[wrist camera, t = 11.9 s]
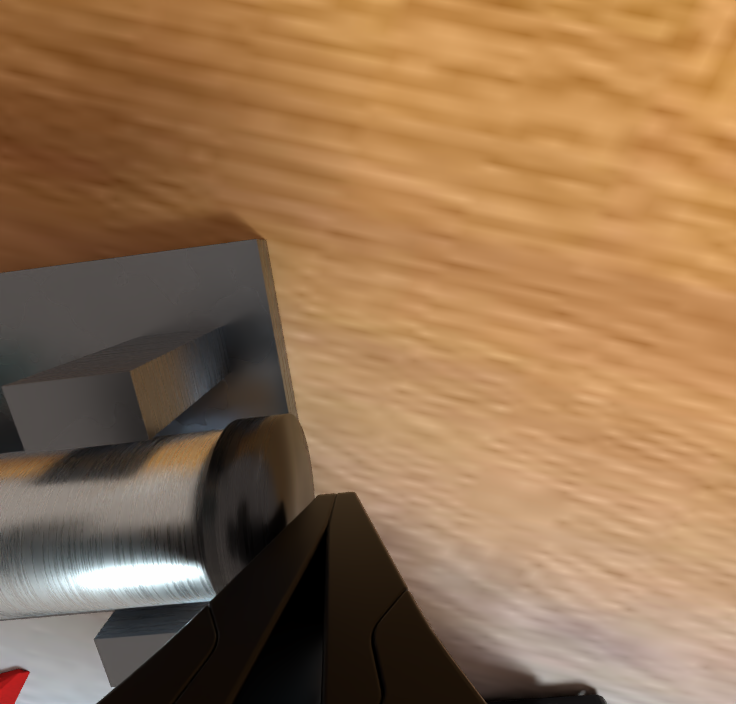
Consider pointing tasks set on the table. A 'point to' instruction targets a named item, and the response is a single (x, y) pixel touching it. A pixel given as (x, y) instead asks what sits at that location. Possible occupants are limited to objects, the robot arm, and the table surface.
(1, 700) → the cloth
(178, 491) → the shaft
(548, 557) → the table surface
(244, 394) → the bearing stand
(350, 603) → the robot arm
